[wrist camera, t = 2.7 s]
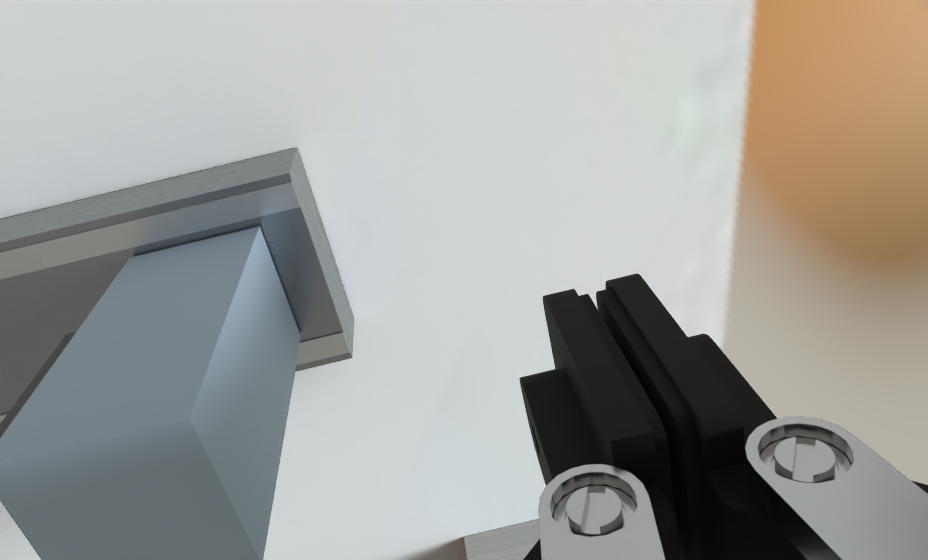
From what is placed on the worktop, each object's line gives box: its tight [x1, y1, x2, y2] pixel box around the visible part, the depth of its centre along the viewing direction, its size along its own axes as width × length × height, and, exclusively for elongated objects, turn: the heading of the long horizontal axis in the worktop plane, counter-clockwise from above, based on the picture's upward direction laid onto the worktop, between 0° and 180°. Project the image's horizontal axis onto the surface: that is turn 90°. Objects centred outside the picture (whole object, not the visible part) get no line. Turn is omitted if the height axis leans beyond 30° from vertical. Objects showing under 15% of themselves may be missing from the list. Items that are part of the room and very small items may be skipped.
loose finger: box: [0, 226, 301, 560], centre depth 14 cm, size 3×4×7 cm
